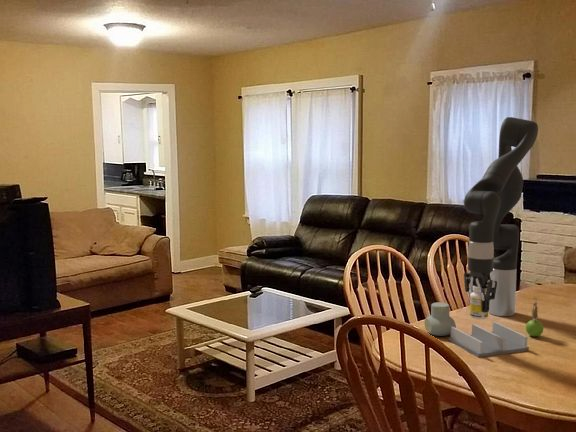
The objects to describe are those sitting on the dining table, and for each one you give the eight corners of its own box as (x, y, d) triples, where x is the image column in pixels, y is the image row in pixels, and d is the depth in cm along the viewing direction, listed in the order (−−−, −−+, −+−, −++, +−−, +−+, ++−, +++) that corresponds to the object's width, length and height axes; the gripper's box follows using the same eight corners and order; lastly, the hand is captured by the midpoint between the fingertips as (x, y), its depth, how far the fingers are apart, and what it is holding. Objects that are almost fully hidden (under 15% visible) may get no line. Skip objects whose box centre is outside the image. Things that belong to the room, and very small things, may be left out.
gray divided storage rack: (448, 340, 195) (448, 326, 195) (496, 334, 201) (496, 321, 200) (478, 357, 180) (478, 342, 180) (528, 350, 186) (529, 336, 185)
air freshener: (422, 329, 207) (423, 300, 206) (445, 328, 208) (446, 299, 207) (433, 339, 197) (433, 309, 195) (457, 338, 197) (458, 308, 196)
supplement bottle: (483, 314, 191) (484, 283, 190) (490, 319, 185) (491, 288, 184) (466, 314, 190) (467, 284, 189) (473, 320, 185) (474, 288, 184)
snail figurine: (542, 333, 201) (543, 298, 200) (543, 339, 195) (545, 303, 194) (524, 331, 203) (526, 297, 202) (525, 337, 197) (527, 302, 196)
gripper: (506, 259, 180) (504, 314, 182) (477, 251, 194) (475, 302, 196) (484, 260, 178) (482, 316, 180) (456, 252, 191) (455, 304, 193)
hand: (479, 309), depth 188 cm, fingers closed on supplement bottle, 5 cm apart
